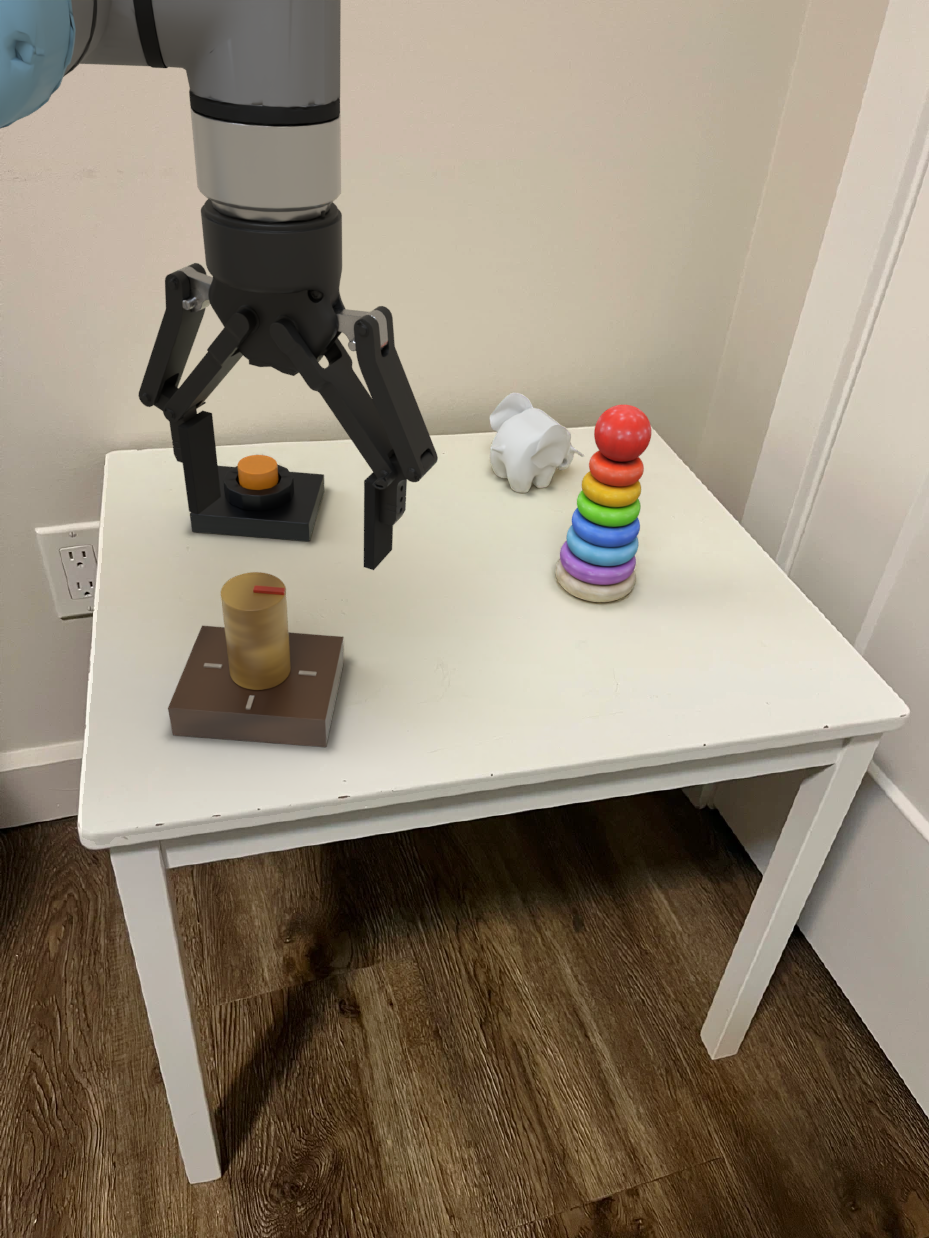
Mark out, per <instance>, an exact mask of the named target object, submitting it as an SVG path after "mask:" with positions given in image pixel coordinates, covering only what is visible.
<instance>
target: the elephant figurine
mask: <svg viewBox="0 0 929 1238" xmlns="http://www.w3.org/2000/svg"><path fill="white" fill-rule="evenodd" d="M489 423H490V428H491V430H493V431H494V432H495V435H494V437H493V440H492V442H491V445H490V448H489V462H490V465H491V468H492V470H493V472H494V474H495V475H496V476H497V477H498V478H501V479H507V481H508V483H509V486H510V488H511V490H513V491H514V492H516V493H519V494H520V493H522V494H523V493H524V494H526V493H528V492H529V491H530V489H531V487H532V484H533V485H534V486H535V487H537V488H538V489H542V488H547V487H549V485H550V484H551V482H552V479H553V476H554V474H555V472H556V470H557V469H558V470H559V471H564V470H566V469H568V468H569V467H570V465H571V464H572V462H573V460H574V457H575V454H576V455H578V456H580V457H581V458H583V457H584V458H585V457H586V456H585V454H584V453H582V452H581V451H580V450H578V449H577V448H575V447H574V446H573V445H572V434H571V432H570V431H569V430H568V428H567V427H566V426H565V425H562V424H560V423H559V422H558V421H557V420H556V419H554V418H553V417H551V416H550V414H549V413H548V414H547V412H546V411H544V410H543V409H541V408H538V407H534V405H533V404H532V402H531V400H530V398H528V397H527V396H526V395H524V394H522V393H520V392H515V391H513V392H511V393H509V394H507V395H506V396H505V397H504V398H503V399H502V400H501V401H500V402H499V403H498V405H496V407H495V408H494V410H493V411H492V412H491V414H490V415H489Z"/></svg>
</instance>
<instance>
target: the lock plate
mask: <svg viewBox="0 0 929 1238" xmlns="http://www.w3.org/2000/svg"><path fill="white" fill-rule="evenodd" d="M344 644H345V641H344V636H338V635H327V634H313V633H303V632H302V633H301V632H289V647H290V664H291V670H290V673H289V675H288V677H287V678H286V679H285V680H284V681H283V682H282V683H281V684H279V685H277V686H275V687H272V688H269V689H264V690H251V689H246V688H243V687H241V686H239V685H238V684H236V683H235V682H234V681H233V680H232V678H231V676H230V671H229V662H228V654H227V645H226V636H225V628H224V626H212V625H201V627H200V629H199V632H198V634H197V637H196V639H195V641H194V644H193V646H192V648H191V651H190V653H189V656H188V658H187V661H186V663H185V666H184V668H183V670H182V672H181V675H180V678H179V680H178V683H177V685H176V687H175V690H174V692H173V694H172V697H171V700H170V702H169V704H168V706H167V710H168V715H169V722H170V727H171V731H172V736H178V737H190V738H202V739H203V738H204V739H216V740H217V739H218V740H228V741H229V740H230V741H243V742H256V743H268V744H281V745H291V746H292V745H293V746H306V747H309V746H310V747H319V748H327V745H328V740H329V735H330V730H331V725H332V722H333V721H332V720H333V716H334V711H335V707H336V702H337V697H338V693H339V687H340V682H341V678H342V673H343V669H344V664H345V655H344V654H345V653H344V651H345V648H344V646H345V645H344Z"/></svg>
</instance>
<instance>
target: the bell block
mask: <svg viewBox="0 0 929 1238" xmlns="http://www.w3.org/2000/svg"><path fill="white" fill-rule="evenodd" d="M277 466H278V483H277V485H275V486H273V487H272V488H268V489H262V490H252V489H246V488H244V487H242V486H241V485H240V484H239V477H238V465H236V466H229V465H218V473H219V483H220V492H221V497H220V498H219V499H218V500H216V501H215V502H214V503H212V504H211V505H210V506H209V507H207V508H206V509H205V510H203V511H202V512H201V513H200V514H195V513H192V512H190V513H189V519H190V527H191V532H192V533H202V534H214V535H226V536H237V537H250V538H263V539H273V540H287V541H299V542H311V541H310V540H311V537H312V534H313V531H314V527H315V524H316V521H317V517H318V514H319V511H320V507H321V503H322V501H323V498H324V495H325V474H323V473H311V472H301V471H290V470H289V469H288V467H285V466H283V465H280V464H278V463H277Z"/></svg>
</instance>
